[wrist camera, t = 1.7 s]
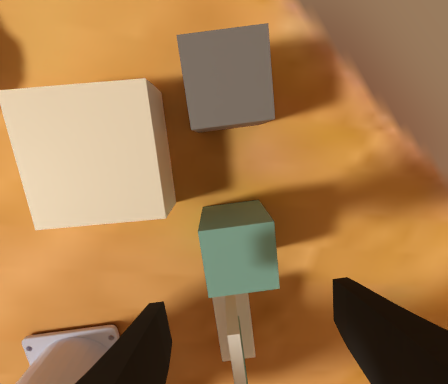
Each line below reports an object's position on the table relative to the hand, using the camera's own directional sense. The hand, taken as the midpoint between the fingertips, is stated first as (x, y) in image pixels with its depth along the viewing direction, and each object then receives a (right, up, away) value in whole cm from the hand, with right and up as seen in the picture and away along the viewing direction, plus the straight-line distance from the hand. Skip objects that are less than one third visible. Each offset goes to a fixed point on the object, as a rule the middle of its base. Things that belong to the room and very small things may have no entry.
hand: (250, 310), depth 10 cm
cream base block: (-9, +8, +8) cm, 14 cm away
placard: (0, -6, +11) cm, 12 cm away
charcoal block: (-1, +12, +7) cm, 14 cm away
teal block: (0, +2, +9) cm, 9 cm away
